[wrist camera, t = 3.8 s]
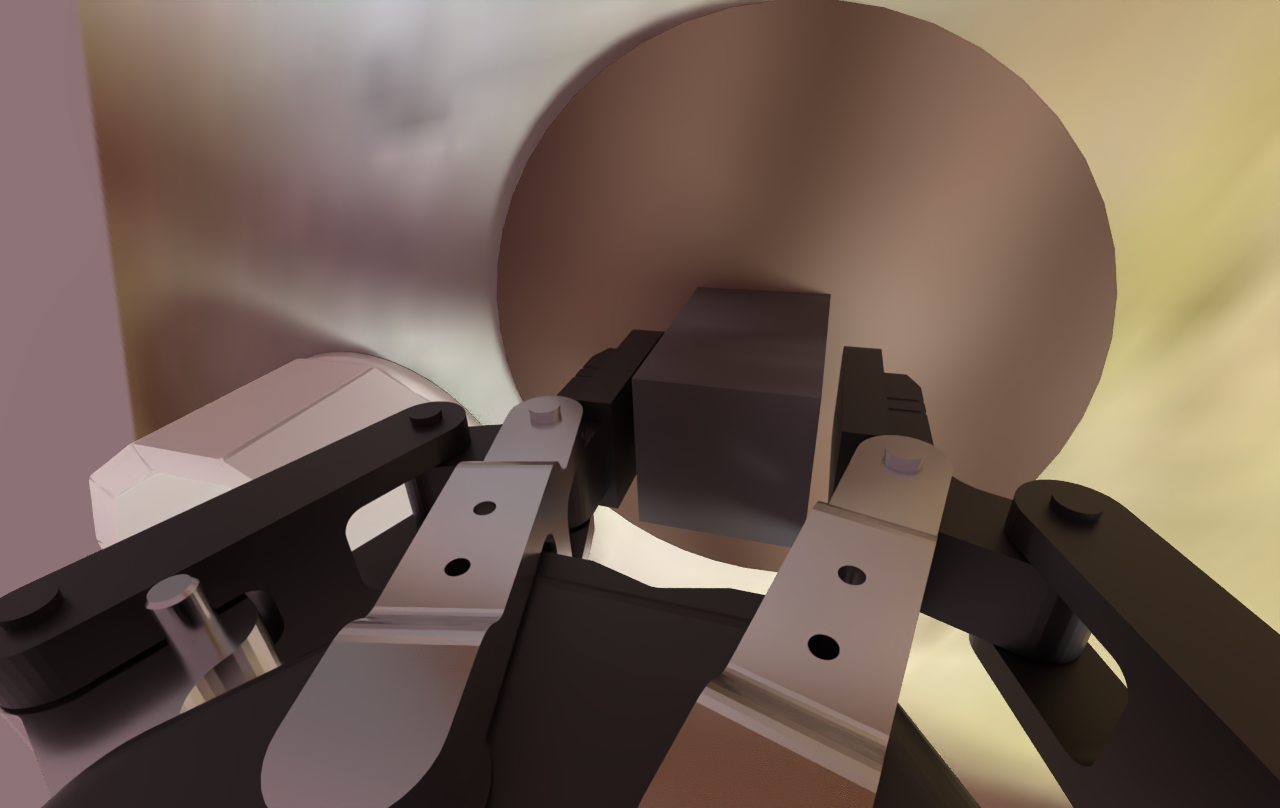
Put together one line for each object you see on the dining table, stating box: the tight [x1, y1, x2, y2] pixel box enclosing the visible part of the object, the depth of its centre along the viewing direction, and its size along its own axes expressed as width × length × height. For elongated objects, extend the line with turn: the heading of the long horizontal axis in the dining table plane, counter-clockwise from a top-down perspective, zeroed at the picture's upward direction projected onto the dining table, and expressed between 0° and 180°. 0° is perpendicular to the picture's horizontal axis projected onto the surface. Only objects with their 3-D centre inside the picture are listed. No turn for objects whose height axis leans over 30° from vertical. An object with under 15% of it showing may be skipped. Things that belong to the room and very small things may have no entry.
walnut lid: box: [497, 0, 1117, 572], centre depth 12 cm, size 14×14×6 cm
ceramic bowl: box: [89, 352, 482, 551], centre depth 19 cm, size 11×11×6 cm
